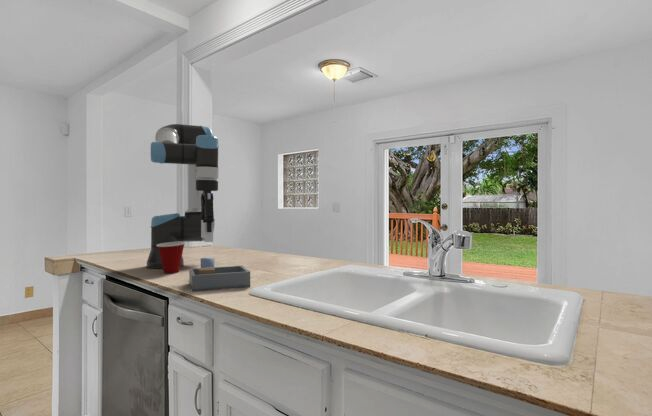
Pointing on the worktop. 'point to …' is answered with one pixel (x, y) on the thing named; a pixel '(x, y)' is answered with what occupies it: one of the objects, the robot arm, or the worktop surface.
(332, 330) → the worktop surface
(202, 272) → the walnut cube
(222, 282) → the tote
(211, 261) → the slate cylinder
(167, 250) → the plastic cup
